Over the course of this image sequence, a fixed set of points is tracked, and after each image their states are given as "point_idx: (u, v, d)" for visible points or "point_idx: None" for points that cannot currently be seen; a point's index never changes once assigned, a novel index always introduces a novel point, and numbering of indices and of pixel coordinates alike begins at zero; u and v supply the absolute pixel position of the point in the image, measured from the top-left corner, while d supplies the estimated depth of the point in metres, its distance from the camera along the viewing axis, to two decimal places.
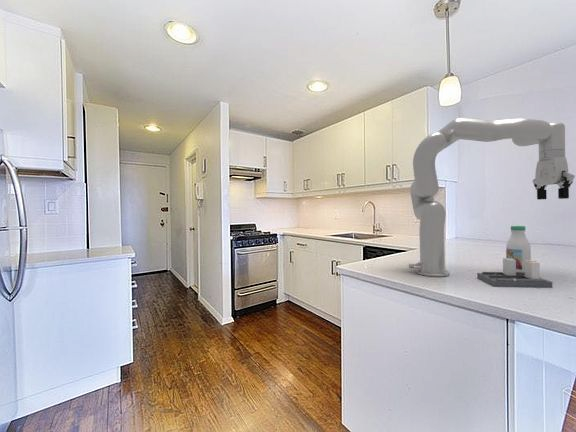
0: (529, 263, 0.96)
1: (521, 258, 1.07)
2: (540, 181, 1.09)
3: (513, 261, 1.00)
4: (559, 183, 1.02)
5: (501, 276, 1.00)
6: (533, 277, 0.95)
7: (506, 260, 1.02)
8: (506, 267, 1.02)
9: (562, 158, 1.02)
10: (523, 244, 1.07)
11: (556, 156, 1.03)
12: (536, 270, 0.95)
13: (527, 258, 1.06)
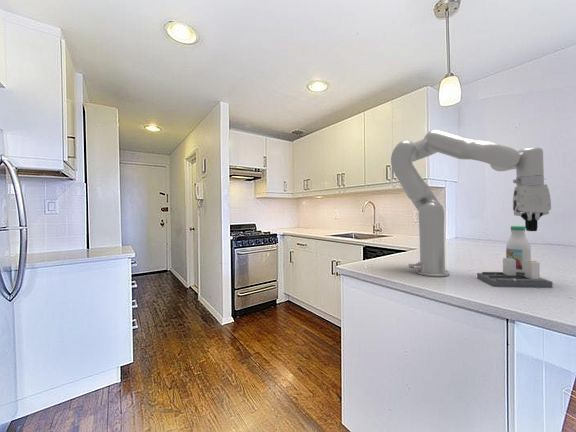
0: (529, 263, 0.96)
1: (521, 258, 1.07)
2: (530, 208, 0.98)
3: (513, 261, 1.00)
4: (538, 214, 0.99)
5: (501, 276, 1.00)
6: (533, 277, 0.95)
7: (506, 260, 1.02)
8: (506, 267, 1.02)
9: None
10: (523, 244, 1.07)
11: None
12: (536, 270, 0.95)
13: (527, 258, 1.06)
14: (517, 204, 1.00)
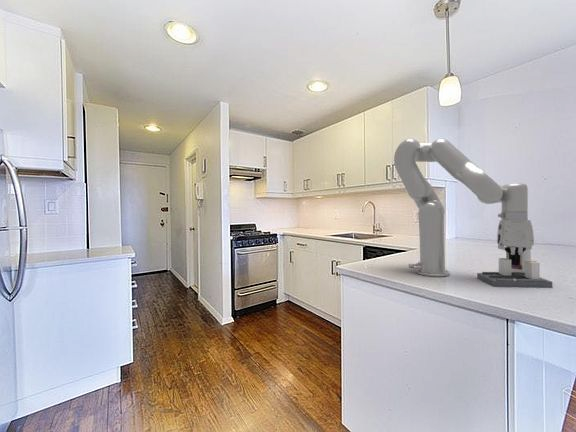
0: (529, 263, 0.96)
1: (521, 258, 1.07)
2: (513, 243, 0.99)
3: (509, 261, 1.01)
4: (521, 249, 1.00)
5: (501, 276, 1.00)
6: (533, 277, 0.95)
7: (502, 260, 1.02)
8: (502, 267, 1.02)
9: None
10: None
11: None
12: (536, 270, 0.95)
13: (527, 258, 1.06)
14: (501, 238, 1.01)
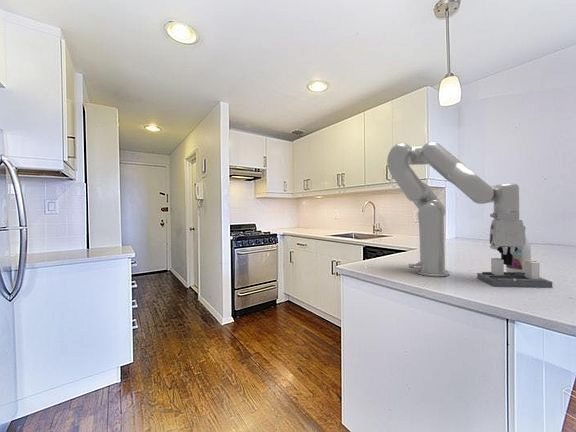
0: (529, 263, 0.96)
1: (521, 258, 1.07)
2: (505, 243, 1.00)
3: (501, 261, 1.01)
4: (513, 249, 1.01)
5: (501, 276, 1.00)
6: (533, 277, 0.95)
7: (494, 260, 1.03)
8: (494, 267, 1.03)
9: None
10: None
11: None
12: (536, 270, 0.95)
13: (527, 258, 1.06)
14: (493, 238, 1.02)
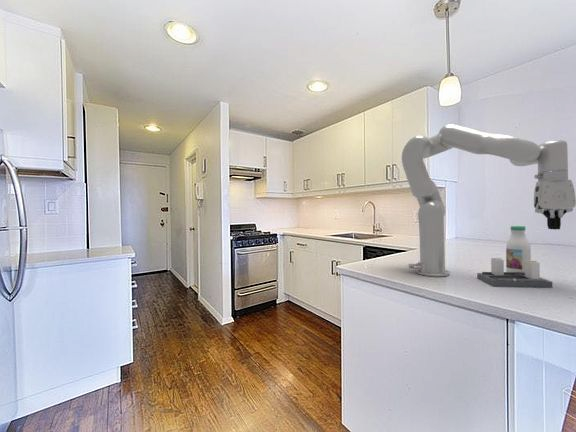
0: (529, 263, 0.96)
1: (521, 258, 1.07)
2: (553, 205, 0.92)
3: (501, 261, 1.01)
4: (562, 212, 0.93)
5: (501, 276, 1.00)
6: (533, 277, 0.95)
7: (494, 260, 1.03)
8: (494, 267, 1.03)
9: None
10: (523, 244, 1.07)
11: None
12: (536, 270, 0.95)
13: (527, 258, 1.06)
14: (539, 201, 0.94)
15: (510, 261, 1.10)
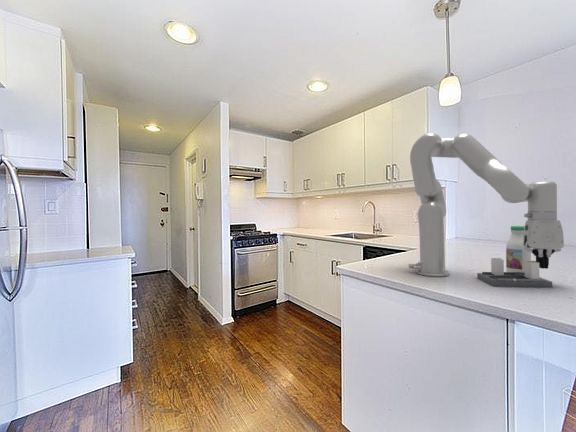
0: (529, 263, 0.96)
1: (521, 258, 1.07)
2: (541, 245, 0.93)
3: (501, 261, 1.01)
4: (550, 251, 0.94)
5: (501, 276, 1.00)
6: (533, 277, 0.95)
7: (494, 260, 1.03)
8: (494, 267, 1.03)
9: None
10: None
11: None
12: (536, 270, 0.95)
13: (527, 258, 1.06)
14: (528, 240, 0.95)
15: (510, 261, 1.10)
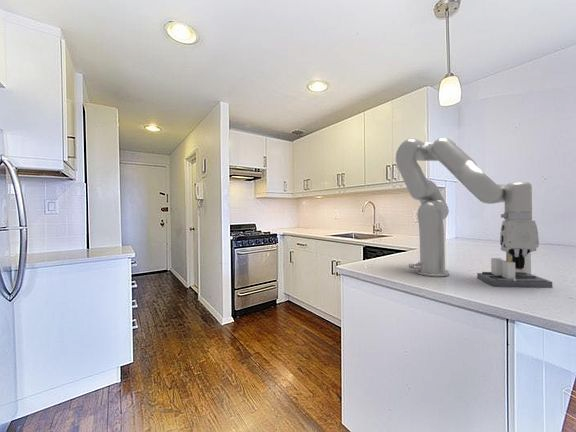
0: (505, 263, 0.97)
1: None
2: (517, 245, 0.95)
3: (501, 261, 1.01)
4: (525, 251, 0.95)
5: (501, 276, 1.00)
6: (509, 277, 0.96)
7: (494, 260, 1.03)
8: (494, 267, 1.03)
9: None
10: None
11: None
12: (512, 270, 0.96)
13: (527, 258, 1.06)
14: (504, 240, 0.97)
15: None
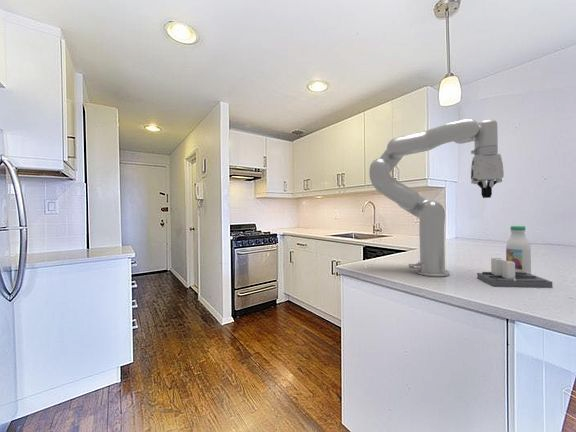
0: (505, 263, 0.97)
1: (521, 258, 1.07)
2: (484, 176, 1.06)
3: (501, 261, 1.01)
4: (492, 182, 1.07)
5: (501, 276, 1.00)
6: (509, 277, 0.96)
7: (494, 260, 1.03)
8: (494, 267, 1.03)
9: None
10: (523, 244, 1.07)
11: None
12: (512, 270, 0.96)
13: (527, 258, 1.06)
14: (474, 173, 1.08)
15: None
